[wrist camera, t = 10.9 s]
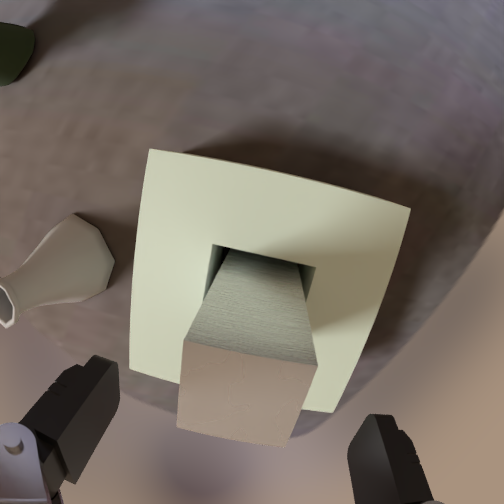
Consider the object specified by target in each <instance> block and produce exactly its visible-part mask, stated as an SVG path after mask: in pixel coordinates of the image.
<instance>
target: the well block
mask: <svg viewBox="0 0 504 504" xmlns="http://www.w3.org/2000/svg"><path fill="white" fill-rule="evenodd" d="M410 211H411V209H410V208H408V207H405V206H402V205H399V204H396V203H393V202H391V201H388V200H385V199H382V198H379V197H376V196H372V195H369V194H365V193H362V192H358V191H355V190H351V189H347V188H344V187H340V186H336V185H333V184H329V183H325V182H321V181H317V180H313V179H309V178H305V177H301V176H297V175H293V174H288V173H284V172H280V171H275V170H271V169H266V168H262V167H257V166H252V165H247V164H242V163H237V162H232V161H227V160H222V159H217V158H211V157H206V156H200V155H194V154H188V153H182V152H174V151H165V150H156V149H150V150H149V155H148V160H147V166H146V172H145V178H144V184H143V191H142V198H141V205H140V212H139V220H138V228H137V237H136V247H135V257H134V268H133V281H132V297H131V316H130V369H132V370H135V371H138V372H141V373H144V374H147V375H151V376H154V377H157V378H161V379H164V380H167V381H171V382H174V383H178V384H180V373H181V361H182V351H183V340H184V338H185V336H186V334H187V332H188V330H189V328H190V326H191V324H192V322H193V320H194V318H195V316H196V314H197V312H198V311H199V309H200V307H201V305H202V303H203V301H204V299H205V297H206V295H207V293H208V291H209V289H210V287H211V285H212V283H213V281H214V279H215V277H216V275H217V273H218V272H219V270H220V266H221V260H222V255H223V250H224V247H229V248H233V249H237V250H242V251H246V252H251V253H255V254H260V255H264V256H269V257H273V258H278V259H282V260H287V261H291V262H296V263H300V264H299V268H298V269H299V274H300V279H301V283H302V288H303V293H304V297H305V302H306V307H307V312H308V317H309V322H310V327H311V332H312V337H313V342H314V347H315V352H316V358H317V363H318V368H317V370H316V373H315V376H314V378H313V381H312V383H311V386H310V389H309V391H308V394H307V396H306V399H305V401H304V404H303V406H302V409H305V410H313V411H321V412H330V413H333V411H334V409H335V407H336V405H337V404H338V402H339V400H340V398H341V395H342V393H343V391H344V389H345V387H346V385H347V383H348V381H349V379H350V377H351V375H352V372H353V370H354V368H355V366H356V364H357V361H358V359H359V357H360V355H361V352H362V350H363V348H364V345H365V343H366V340H367V338H368V336H369V333H370V331H371V328H372V326H373V323H374V321H375V318H376V316H377V313H378V310H379V308H380V305H381V302H382V300H383V297H384V294H385V291H386V289H387V286H388V283H389V280H390V277H391V274H392V271H393V268H394V265H395V262H396V259H397V256H398V252H399V249H400V246H401V243H402V239H403V236H404V232H405V229H406V225H407V222H408V218H409V214H410Z"/></svg>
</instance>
